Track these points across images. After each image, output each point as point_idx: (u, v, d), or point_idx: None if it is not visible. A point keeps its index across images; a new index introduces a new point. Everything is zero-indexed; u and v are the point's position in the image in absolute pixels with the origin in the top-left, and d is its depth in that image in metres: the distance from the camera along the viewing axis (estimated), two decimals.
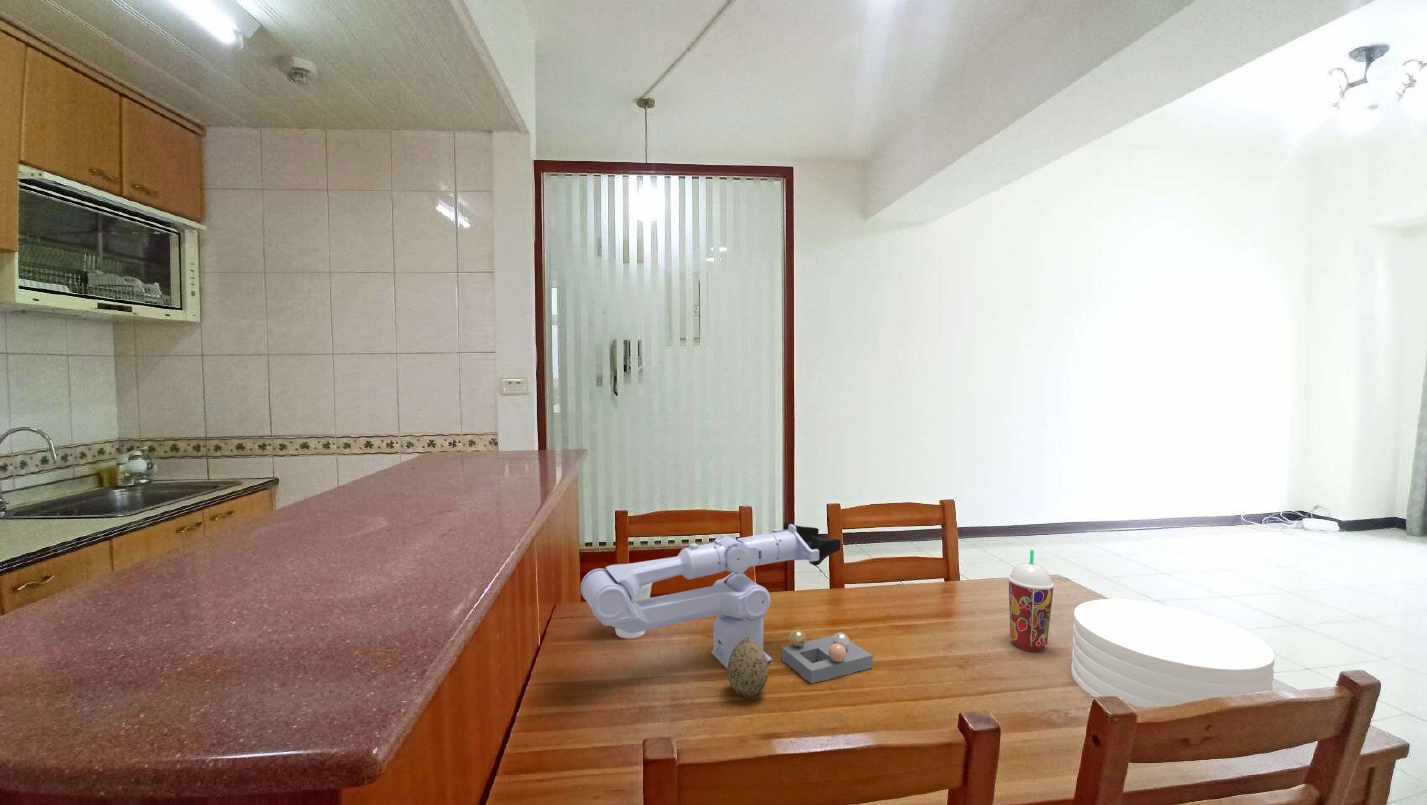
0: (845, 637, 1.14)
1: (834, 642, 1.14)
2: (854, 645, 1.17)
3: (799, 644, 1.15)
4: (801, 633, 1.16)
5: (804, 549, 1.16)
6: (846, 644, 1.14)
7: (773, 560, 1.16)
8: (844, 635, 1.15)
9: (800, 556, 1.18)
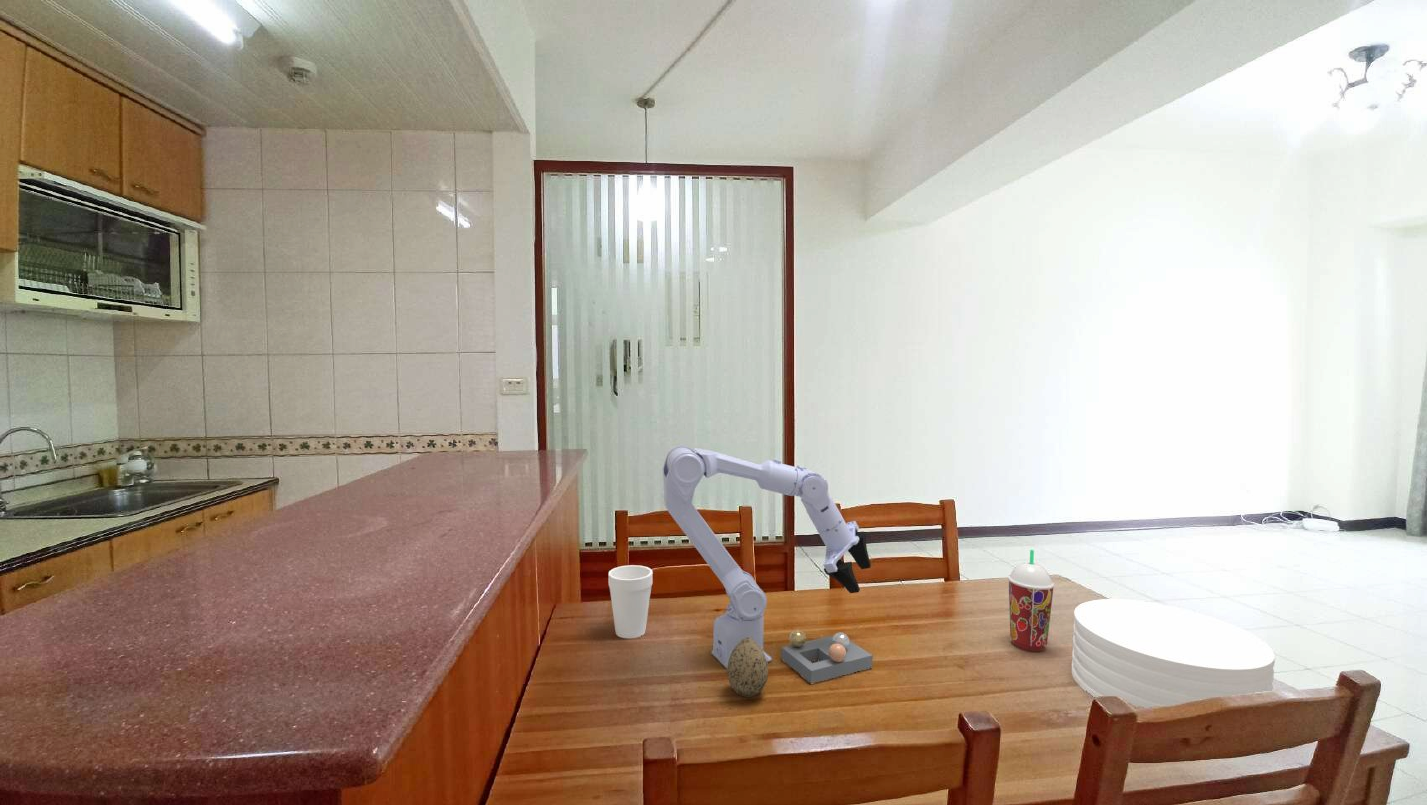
0: (845, 637, 1.14)
1: (834, 642, 1.14)
2: (854, 645, 1.17)
3: (799, 644, 1.15)
4: (801, 633, 1.16)
5: (834, 556, 1.15)
6: (846, 644, 1.14)
7: (824, 527, 1.16)
8: (844, 635, 1.15)
9: (829, 553, 1.18)
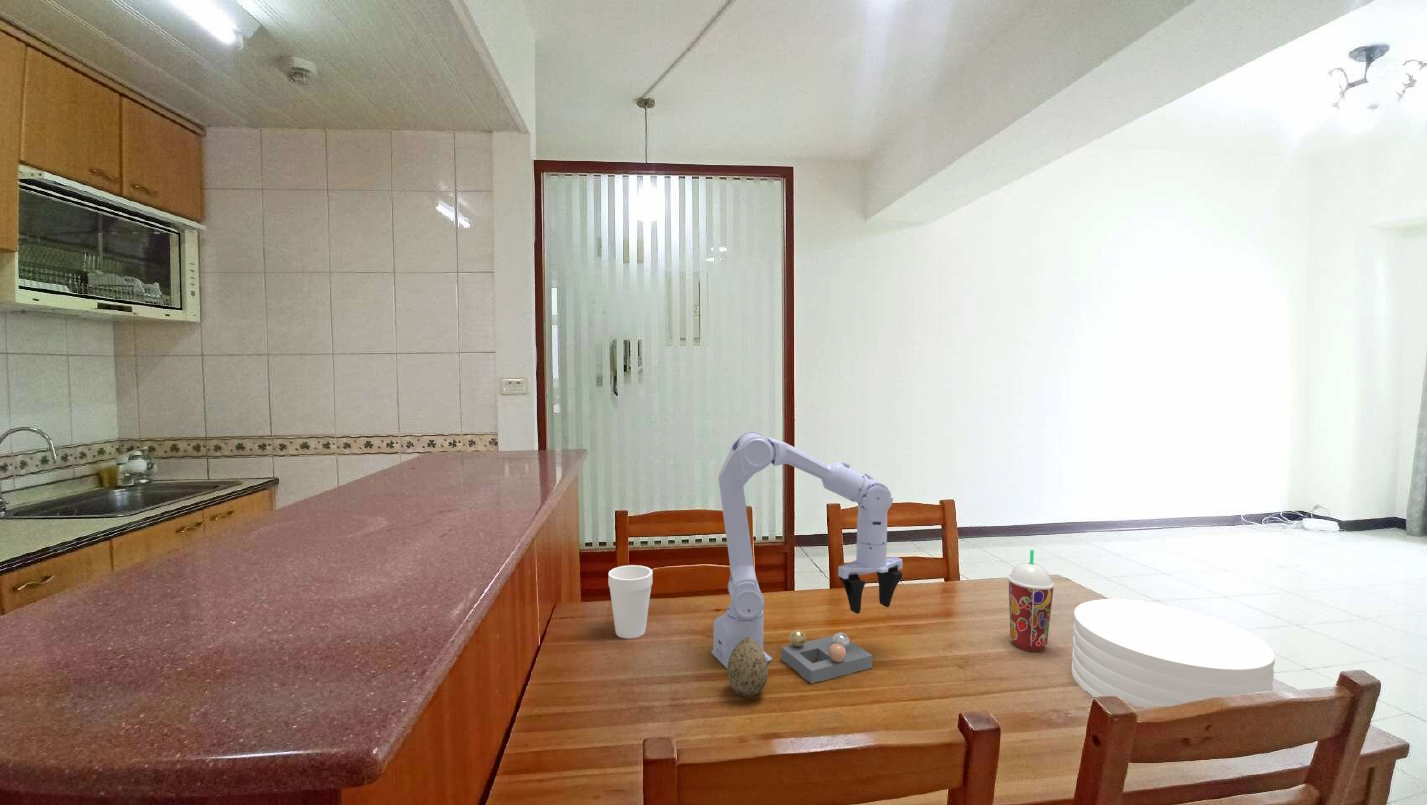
0: (845, 637, 1.14)
1: (834, 642, 1.14)
2: (854, 645, 1.17)
3: (799, 644, 1.15)
4: (801, 633, 1.16)
5: (853, 568, 1.15)
6: (846, 644, 1.14)
7: (866, 539, 1.15)
8: (844, 635, 1.15)
9: (854, 564, 1.17)
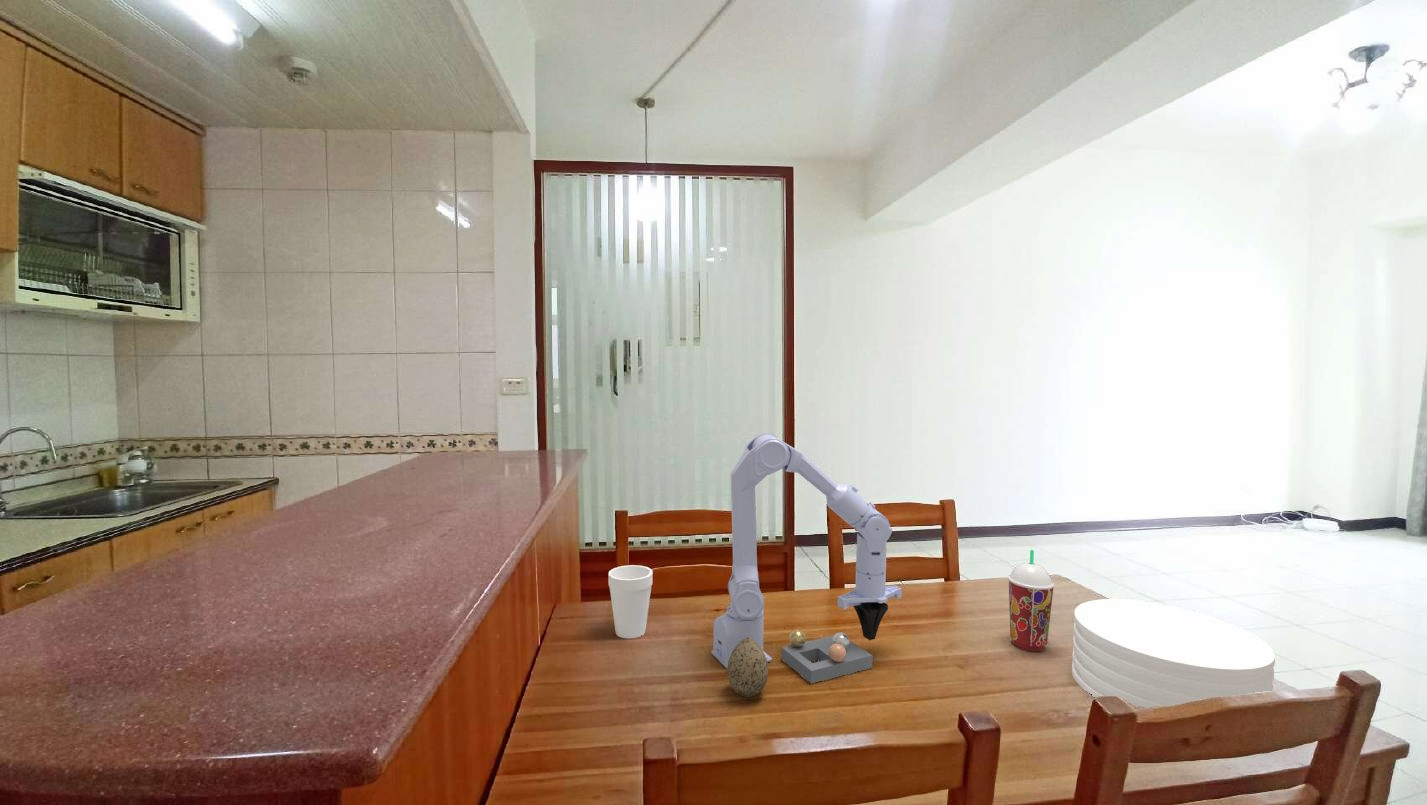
0: (845, 637, 1.14)
1: (834, 642, 1.14)
2: (854, 645, 1.17)
3: (799, 644, 1.15)
4: (801, 633, 1.16)
5: (853, 598, 1.15)
6: (846, 644, 1.14)
7: (865, 569, 1.15)
8: (844, 635, 1.15)
9: (853, 594, 1.18)
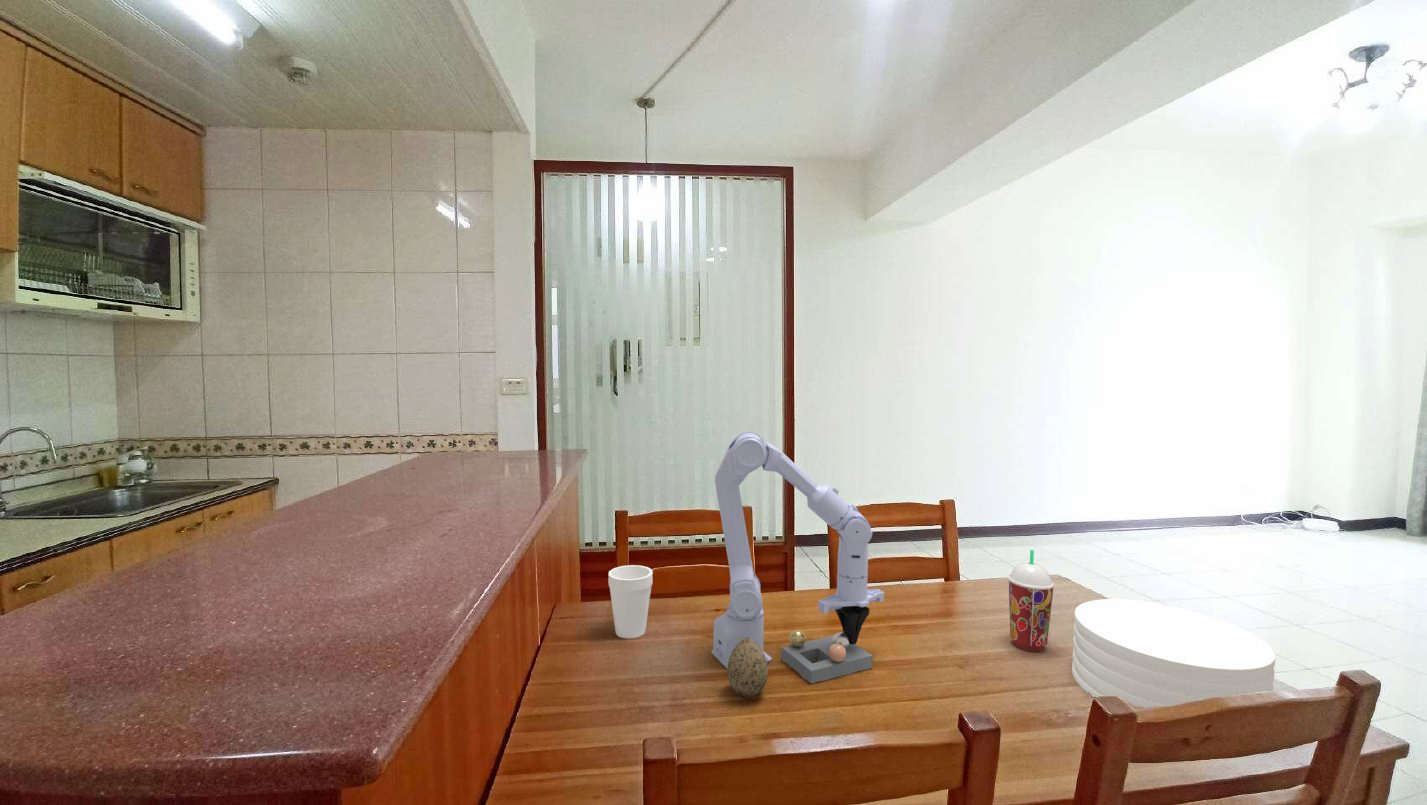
0: (845, 637, 1.14)
1: (834, 642, 1.14)
2: (854, 645, 1.17)
3: (799, 644, 1.15)
4: (801, 633, 1.16)
5: (833, 601, 1.13)
6: (846, 644, 1.14)
7: (845, 572, 1.13)
8: (844, 635, 1.15)
9: (834, 597, 1.16)
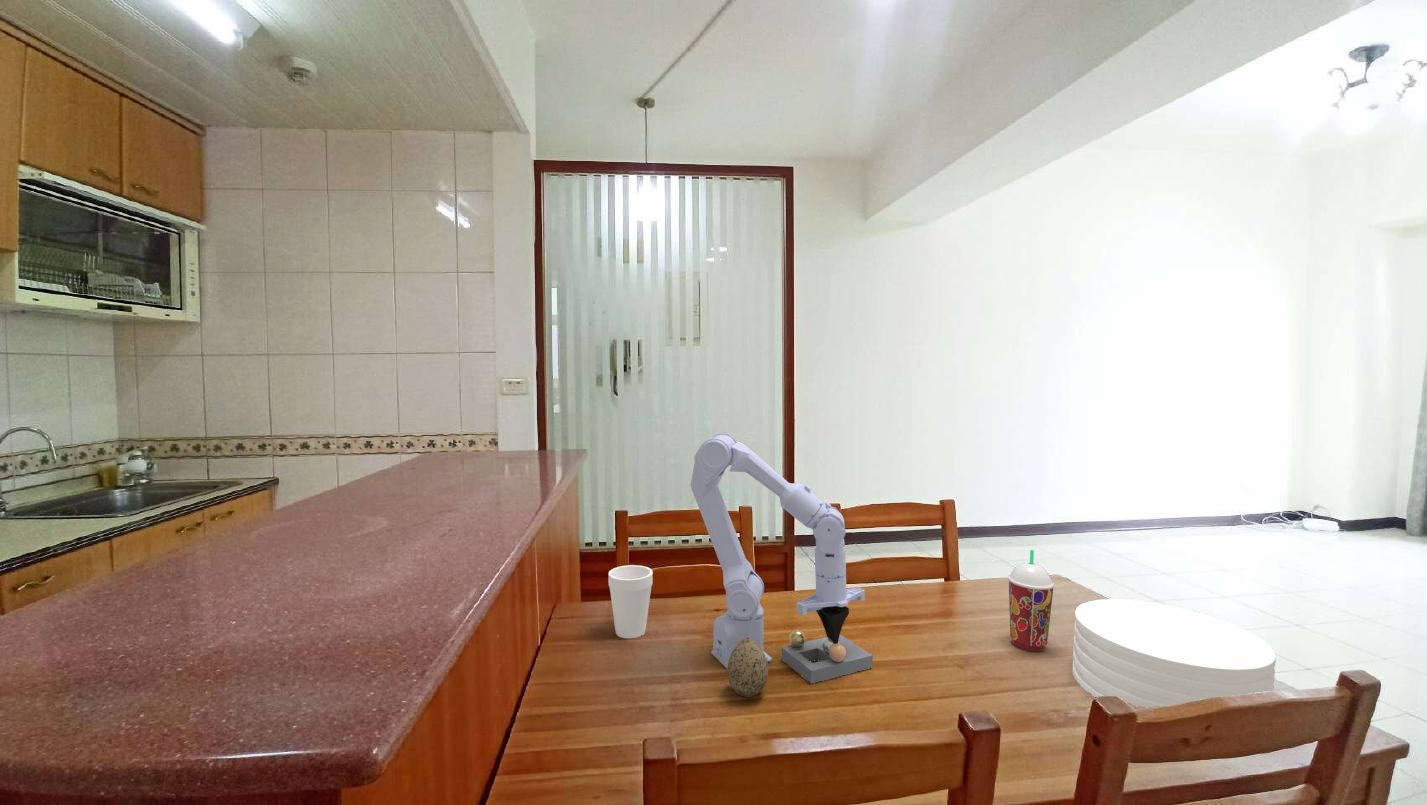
0: None
1: None
2: (854, 645, 1.17)
3: (799, 644, 1.15)
4: (801, 633, 1.16)
5: (812, 603, 1.10)
6: None
7: (820, 572, 1.11)
8: (828, 648, 1.12)
9: (813, 599, 1.13)
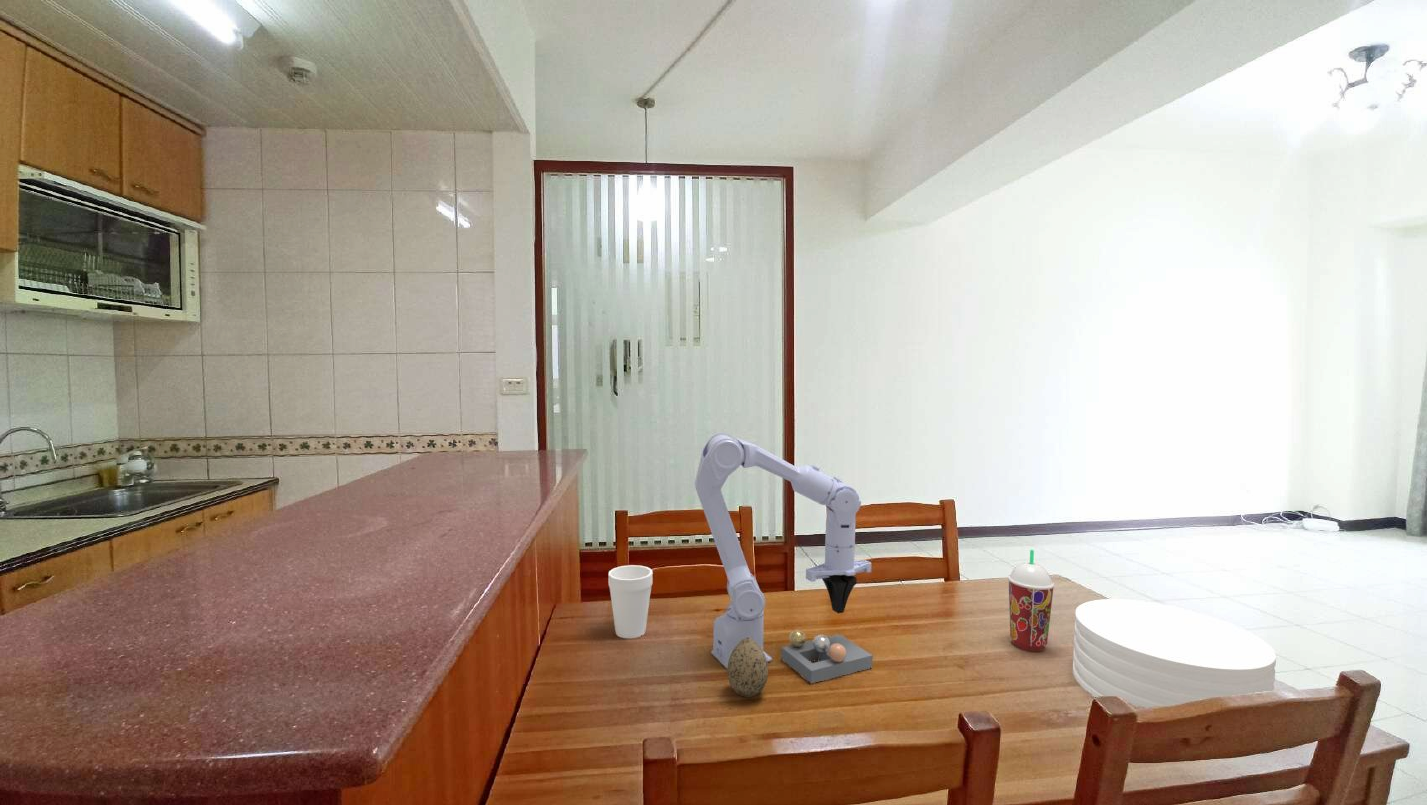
0: (819, 649, 1.13)
1: None
2: (854, 645, 1.17)
3: (799, 644, 1.15)
4: (801, 633, 1.16)
5: (821, 570, 1.15)
6: (823, 644, 1.13)
7: (834, 542, 1.15)
8: (817, 649, 1.13)
9: (822, 567, 1.18)
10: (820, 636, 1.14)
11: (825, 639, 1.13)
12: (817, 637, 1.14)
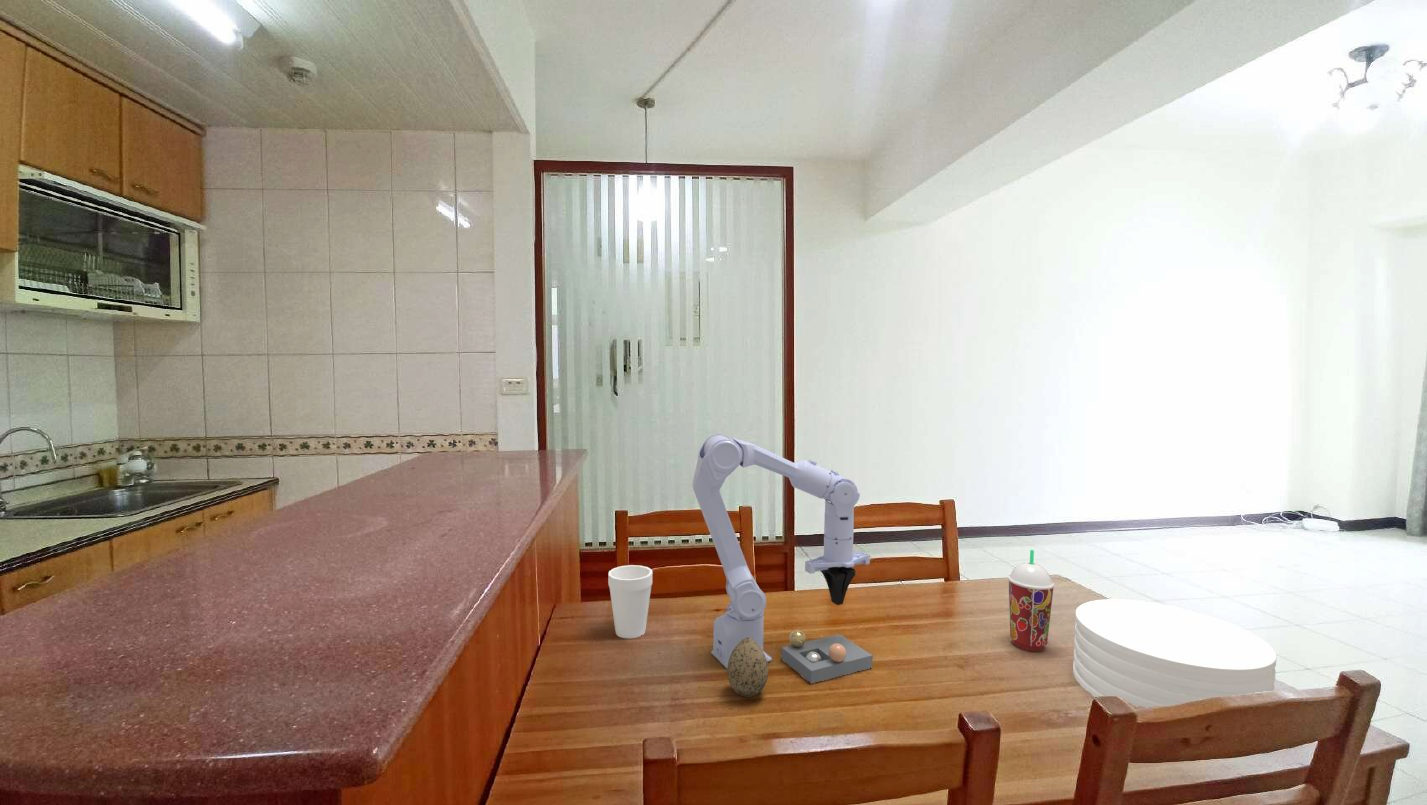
0: None
1: None
2: (854, 645, 1.17)
3: (799, 644, 1.15)
4: (801, 633, 1.16)
5: (820, 562, 1.16)
6: None
7: (834, 535, 1.16)
8: None
9: (821, 559, 1.19)
10: None
11: None
12: None
